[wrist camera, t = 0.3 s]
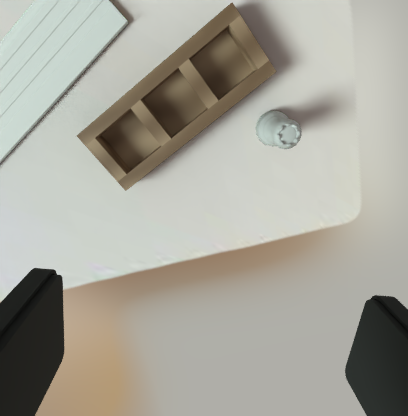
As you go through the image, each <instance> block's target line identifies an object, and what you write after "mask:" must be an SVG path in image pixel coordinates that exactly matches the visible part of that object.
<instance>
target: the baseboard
mask: <svg viewBox="0 0 408 416" xmlns="http://www.w3.org/2000/svg"><path fill="white" fill-rule="evenodd" d="M128 23H129V22H128V21H127V19H126V18H125V17H124V16H123V15H122V14H121V13H120V11H119V10H118V9H117V8H116V7H115V6H114V5H113V3H112V2H111V1H110V0H35V1H34V2H33V3H32V4H31V5H30V7H29V8H28V9H27V10H26V11H25V13H24V14H23V15H22V16H21V18H20V19H19V20H18V21H17V22H16V24H15V25H14V26H13V27H12V28H11V30H10V31H9V32H8V33H7V35H6V36H5V37H4V38H3V39H2V41H1V42H0V163H1V162H2V161H3V160H4V159H5V158H6V156H7V155H8V154H9V153H10V152H11V151H12V150H13V149H14V148H15V147H16V146H17V144H18V143H19V142H20V141H21V140H22V139H23V138H24V137H25V136H26V135H27V134H28V132H29V131H30V130H31V129H32V128H33V127H34V126H35V125H36V124H37V123H38V121H39V120H40V119H41V118H42V117H43V116H44V115H45V114H46V113H47V112H48V111H49V109H50V108H51V107H52V106H53V105H54V104H55V103H56V102H57V101H58V100H59V99H60V97H61V96H62V95H63V94H64V93H65V92H66V91H67V90H68V89H69V88H70V87H71V85H72V84H73V83H74V82H75V81H76V80H77V79H78V78H79V77H80V76H81V74H82V73H83V72H84V71H85V70H86V69H87V68H88V67H89V66H90V65H91V64H92V62H93V61H94V60H95V59H96V58H97V57H98V56H99V55H100V54H101V53H102V52H103V50H104V49H105V48H106V47H107V46H108V45H109V44H110V43H111V42H112V41H113V40H114V38H115V37H116V36H117V35H118V34H119V33H120V32H121V31H122V30H123V29H124V27H125V26H126V25H127V24H128Z"/></svg>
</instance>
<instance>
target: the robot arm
mask: <svg viewBox="0 0 408 416" xmlns="http://www.w3.org/2000/svg"><path fill="white" fill-rule="evenodd" d="M63 355H64V321H63V282H62V276H61V275H57V273H56V271H55V270H52V269H40V268H34V269H32V270H31V271H30V272H29V273H28V274H27V275H26V276H25V277H24V279H23V280H22V281H21V282H20V283H19V284H18V285H17V286H16V287H15V288H14V289H13V290H12V291H11V292H10V293H9V294H8V295H7V296H6V298H5V299H4V300H3V301H2V302H1V303H0V416H35V414H36V412H37V410H38V408H39V406H40V404H41V402H42V400H43V398H44V396H45V394H46V392H47V390H48V388H49V386H50V384H51V382H52V380H53V378H54V376H55V374H56V372H57V370H58V368H59V365H60V364H61V362H62V359H63ZM345 373H346V378H347V380H348V382H349V384H350V386H351V388H352V390H353V392H354V393H355V395H356V397H357V399H358V401H359V402H360V404H361V406H362V408H363V409H364V411H365V413H366V415H367V416H408V309H406V307H405V306H403V305H402V304H401V303H400V302H399V301H398V300H397V299H396V298H395V297H389V296H377V295H375V296H373V297H372V298H371V299H370V300H367V301H366V303H365V306H364V309H363V312H362V315H361V319H360V322H359V326H358V328H357V332H356V335H355V339H354V342H353V345H352V348H351V351H350V355H349V358H348V361H347V364H346V369H345Z"/></svg>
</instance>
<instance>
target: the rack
mask: <svg viewBox="0 0 408 416" xmlns="http://www.w3.org/2000/svg"><path fill="white" fill-rule="evenodd" d="M275 72H276V70H275V69H274V67H273V66H272V64H271V62H270V61H269V59H268V58H267V56H266V55H265V53H264V51H263V50H262V48H261V47H260V45H259V44H258V42H257V40H256V39H255V37H254V36H253V34H252V33H251V31H250V29H249V28H248V26H247V25H246V23H245V22H244V20H243V18H242V17H241V15H240V14H239V12H238V11H237V9H236V7H235V6H234V4H233V3H231V4H230V5H228V6H227V7H226V8H225V9H224V10H223V11H221V12H220V13H219V14H218V15H217V16H216V17H214V18H213V19H212V20H211V21H210V22H209V23H207V24H206V25H205V26H204V27H203V28H202V29H200V30H199V31H198V32H197V33H196V34H195V35H193V36H192V37H191V38H190V39H189V40H188V41H186V42H185V43H184V44H183V45H182V46H181V47H179V48H178V49H177V50H176V51H175V52H174V53H173V54H171V55H170V56H169V57H168V58H167V59H166V60H164V61H163V62H162V63H161V64H160V65H159V66H157V67H156V68H155V69H154V70H153V71H152V72H150V73H149V74H148V75H147V76H146V77H145V78H143V79H142V80H141V81H140V82H139V83H138V84H136V85H135V86H134V87H133V88H132V89H131V90H129V91H128V92H127V93H126V94H125V95H124V96H122V97H121V98H120V99H119V100H118V101H117V102H115V103H114V104H113V105H112V106H111V107H110V108H109V109H107V110H106V111H105V112H104V113H103V114H102V115H100V116H99V117H98V118H97V119H96V120H95V121H93V122H92V123H91V124H90V125H89V126H88V127H86V128H85V129H84V130H83V131H82V132H81V133H79V134H78V135H77V137H78V138H79V139H80V140H81V141H82V142H83V144H84V145H85V146H86V147H87V148H88V149H89V150H90V151H91V152H92V154H93V155H94V156H95V157H96V158H97V159H98V160H99V161H100V163H101V164H102V165H103V166H104V167H105V168H106V169H107V170H108V172H109V173H110V174H111V175H112V176H113V177H114V178H115V179H116V180H117V182H118V183H119V184H120V185H121V186H122V187H123V188H124V189H125V191H126V190H127V189H129V188H130V187H131V186H133V185H134V184H135V183H136V182H138V181H139V180H140V179H141V178H143V177H144V176H145V175H146V174H148V173H149V172H150V171H152V170H153V169H154V168H155V167H157V166H158V165H159V164H160V163H162V162H163V161H164V160H165V159H167V158H168V157H169V156H170V155H172V154H173V153H174V152H176V151H177V150H178V149H179V148H181V147H182V146H183V145H184V144H186V143H187V142H188V141H189V140H191V139H192V138H193V137H195V136H196V135H197V134H198V133H200V132H201V131H202V130H203V129H205V128H206V127H207V126H208V125H210V124H211V123H212V122H213V121H215V120H216V119H217V118H219V117H220V116H221V115H222V114H224V113H225V112H226V111H227V110H229V109H230V108H231V107H232V106H234V105H235V104H236V103H238V102H239V101H240V100H241V99H243V98H244V97H245V96H246V95H248V94H249V93H250V92H251V91H253V90H254V89H255V88H256V87H258V86H259V85H260V84H262V83H263V82H264V81H265V80H267V79H268V78H269V77H270V76H272V75H273V74H274V73H275Z"/></svg>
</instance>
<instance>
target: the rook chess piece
mask: <svg viewBox="0 0 408 416" xmlns="http://www.w3.org/2000/svg"><path fill="white" fill-rule="evenodd" d="M256 135H257V137H258V138H259V140H260V141H261V142H262V143H264V144H265V145H269V146H278V147H279V148H282V149H289V148H292V147H294V146H295V145H296V144H297V143H298V142H299V141H300V138H301V128H300V126H299V124H298V123H297V122H296V121H295V120H291V119H289V118H288V117H287V116H286V115H285V114H283V113H282V112H279V111H269V112H267V113H265V114H263V115H262V116H261V117H260V119H259V120H258V122H257V125H256Z"/></svg>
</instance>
